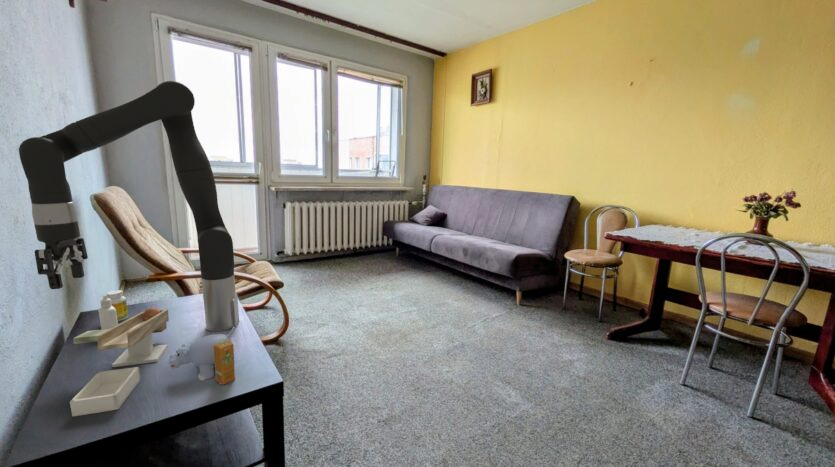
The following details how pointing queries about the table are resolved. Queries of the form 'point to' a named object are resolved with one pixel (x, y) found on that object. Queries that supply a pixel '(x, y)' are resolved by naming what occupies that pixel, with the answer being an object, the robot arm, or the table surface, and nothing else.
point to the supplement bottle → (119, 304)
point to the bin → (105, 391)
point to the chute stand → (141, 353)
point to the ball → (151, 313)
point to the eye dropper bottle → (107, 314)
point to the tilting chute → (125, 332)
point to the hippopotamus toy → (200, 354)
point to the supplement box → (224, 362)
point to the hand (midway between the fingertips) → (68, 282)
